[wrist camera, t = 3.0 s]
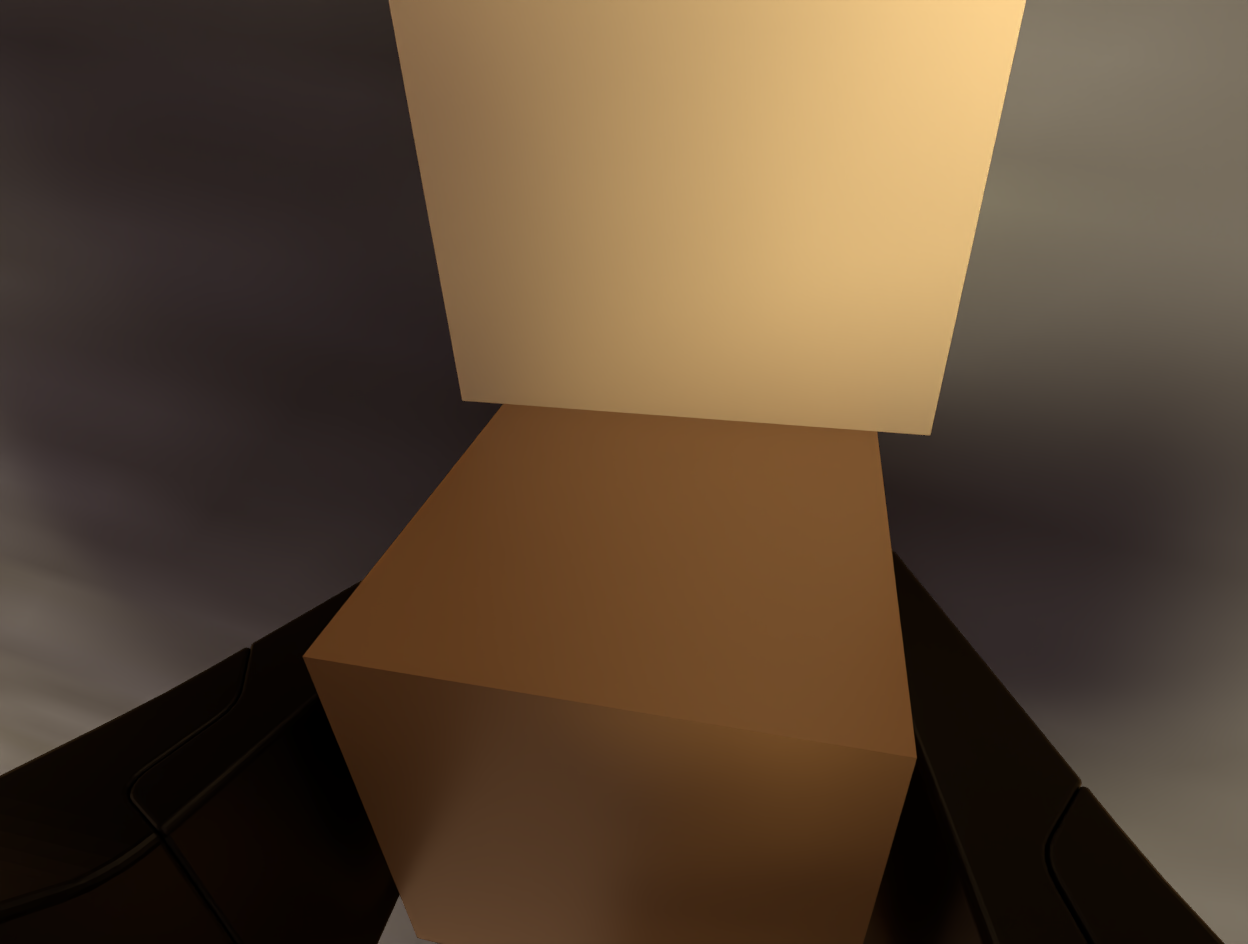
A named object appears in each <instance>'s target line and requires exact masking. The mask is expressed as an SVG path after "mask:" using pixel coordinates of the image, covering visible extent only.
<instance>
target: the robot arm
mask: <svg viewBox="0 0 1248 944" xmlns="http://www.w3.org/2000/svg"><path fill="white" fill-rule="evenodd" d="M892 557H893V566H894V574H895V582H896V590H897V598H898V607H899V615H900V623H901V631H902V640H903V648H904V656H905V664H906V672H907V681H908V689H909V697H910V705H911V714H912V722H913V730H914V738H915V746H916V755H917V760H916V763H915V766H914V770H913V773H912V777H911V780H910V784H909V787H908V791H907V794H906V797H905V801H904V804H903V808H902V811H901V815H900V818H899V822H898V825H897V828H896V832H895V835H894V839H893V842H892V846H891V849H890V853H889V856H888V859H887V863H886V866H885V870H884V873H883V877H882V880H881V884H880V887H879V890H878V894H877V897H876V901H875V904H874V908H873V911H872V915H871V918H870V921H869V925H868V928H867V932H866V935H865V939H864V942H863V944H1224V943H1223V941H1222V940H1221V939H1220V938H1219V937H1218V936H1217V935H1216V934H1215V933H1214V932H1213V931H1212V930H1211V929H1210V927H1209V926H1208V925H1207V924H1206V923H1205V922H1204V921H1203V920H1202V919H1201V918H1200V917H1199V916H1198V915H1197V913H1196V912H1195V911H1194V910H1193V909H1192V908H1191V907H1190V906H1189V905H1188V904H1187V903H1186V902H1185V900H1184V899H1183V898H1182V897H1181V896H1180V895H1179V894H1178V893H1177V892H1176V891H1175V890H1174V889H1173V888H1172V886H1171V885H1170V884H1169V883H1168V882H1167V881H1166V880H1165V879H1164V878H1163V877H1162V875H1161V874H1160V873H1159V872H1158V871H1157V870H1156V868H1155V867H1154V866H1153V865H1152V864H1151V863H1150V861H1149V860H1148V859H1147V858H1146V857H1145V856H1144V854H1143V853H1142V852H1141V851H1140V850H1139V849H1138V847H1137V846H1136V845H1135V844H1134V843H1133V842H1132V840H1131V839H1130V838H1129V837H1128V836H1127V834H1126V833H1125V832H1124V831H1123V830H1122V829H1121V827H1120V826H1119V825H1118V824H1117V823H1116V822H1115V820H1114V819H1113V818H1112V817H1111V815H1110V814H1109V813H1108V812H1107V811H1106V809H1105V808H1104V807H1103V806H1102V804H1101V803H1100V802H1099V801H1098V800H1097V798H1096V797H1095V796H1094V795H1093V793H1092V792H1091V791H1090V790H1089V789H1088V788H1086V787H1080V786H1081V784H1082V782H1081V779H1080V778H1079V777H1078V776H1077V774H1076V773H1075V772H1074V771H1073V769H1072V768H1071V767H1070V766H1069V765H1068V763H1067V762H1066V761H1065V760H1064V758H1063V757H1062V756H1061V755H1060V754H1059V752H1058V751H1057V750H1056V749H1055V747H1054V746H1053V745H1052V744H1051V743H1050V741H1049V740H1048V739H1047V738H1046V736H1045V735H1044V734H1043V733H1042V732H1041V730H1040V729H1039V728H1038V727H1037V725H1036V724H1035V723H1034V722H1033V721H1032V719H1031V718H1030V717H1029V716H1028V714H1027V713H1026V712H1025V711H1024V709H1023V708H1022V707H1021V706H1020V705H1019V703H1018V702H1017V701H1016V700H1015V698H1014V697H1013V696H1012V695H1011V694H1010V692H1009V691H1008V690H1007V689H1006V687H1005V686H1004V685H1003V684H1002V683H1001V681H1000V680H999V679H998V678H997V676H996V675H995V674H994V673H993V672H992V670H991V669H990V668H989V667H988V665H987V664H986V663H985V662H984V661H983V659H982V658H981V657H980V656H979V654H978V653H977V652H976V651H975V649H974V648H973V647H972V646H971V645H970V643H969V642H968V641H967V640H966V638H965V637H964V636H963V635H962V634H961V632H960V631H959V630H958V629H957V627H956V626H955V625H954V624H953V623H952V621H951V620H950V619H949V618H948V616H947V615H946V614H945V613H944V612H943V610H942V609H941V608H940V607H939V605H938V604H937V603H936V602H935V601H934V599H933V598H932V597H931V596H930V594H929V593H928V592H927V591H926V589H925V588H924V587H923V586H922V585H921V583H920V582H919V581H918V580H917V578H916V577H915V576H914V575H913V574H912V572H911V571H910V570H909V569H908V567H907V566H906V565H905V564H904V563H903V561H902V560H901V559H900V558H899V556H898V555H897V554H896V553H895V552H894V551H893V550H892ZM363 580H364V579H363ZM363 580H362V581H363ZM362 581H360V582H358V583H357V584H355V585H353V586H351V587H350V588H348V589H346V590H344V591H343V592H341V593H339V594H338V595H336V596H334V597H332V598H331V599H329V600H327V601H325V602H324V603H322V604H320V605H318V606H317V607H315V608H313V609H312V610H310V611H308V612H306V613H305V614H303V615H301V616H299V617H298V618H296V619H294V620H292V621H291V622H289V623H287V624H286V625H284V626H282V627H280V628H279V629H277V630H275V631H273V632H272V633H270V634H268V635H266V636H265V637H263V638H261V639H259V640H258V641H256V642H254V643H253V644H252V646H251V649H250V648H244V649H242V650H240V651H238V652H237V653H235V654H233V655H232V656H230V657H228V658H226V659H225V660H223V661H221V662H219V663H218V664H216V665H214V666H212V667H211V668H209V669H207V670H205V671H203V672H202V673H200V674H198V675H196V676H194V677H193V678H191V679H189V680H187V681H185V682H184V683H182V684H180V685H178V686H176V687H175V688H173V689H171V690H169V691H167V692H166V693H164V694H162V695H160V696H158V697H156V698H154V699H152V700H150V701H148V702H146V703H144V704H142V705H140V706H138V707H136V708H135V709H133V710H131V711H129V712H127V713H125V714H123V715H121V716H119V717H117V718H115V719H113V720H111V721H109V722H107V723H105V724H103V725H101V726H99V727H97V728H95V729H93V730H91V731H89V732H87V733H85V734H83V735H81V736H79V737H77V738H75V739H73V740H71V741H69V742H67V743H65V744H63V745H61V746H59V747H57V748H55V749H53V750H51V751H49V752H47V753H45V754H43V755H41V756H39V757H37V758H35V759H33V760H31V761H29V762H27V763H25V764H23V765H21V766H19V767H17V768H15V769H13V770H11V771H9V772H7V773H5V774H3V775H1V776H0V944H378V941H379V939H380V937H381V935H382V933H383V930H384V928H385V926H386V924H387V922H388V919H389V917H390V915H391V913H392V910H393V908H394V906H395V904H396V902H397V899H398V897H399V895H400V894H399V891H398V889H397V887H396V884H395V882H394V879H393V877H392V874H391V872H390V869H389V867H388V865H387V862H386V860H385V857H384V855H383V852H382V850H381V847H380V845H379V843H378V840H377V838H376V835H375V833H374V830H373V828H372V825H371V823H370V820H369V818H368V816H367V813H366V811H365V808H364V806H363V803H362V801H361V798H360V796H359V794H358V791H357V789H356V786H355V784H354V781H353V779H352V776H351V774H350V772H349V769H348V767H347V764H346V762H345V759H344V757H343V754H342V752H341V750H340V747H339V745H338V742H337V740H336V737H335V735H334V732H333V730H332V728H331V725H330V723H329V720H328V718H327V715H326V713H325V710H324V708H323V705H322V703H321V701H320V698H319V696H318V693H317V691H316V688H315V686H314V683H313V681H312V679H311V676H310V674H309V671H308V669H307V666H306V664H305V661H304V659H303V657H302V656H303V655H304V654H305V653H306V651H307V650H308V649H309V648H310V646H311V645H312V644H313V643H314V641H315V640H316V639H317V638H318V636H319V635H320V634H321V633H322V631H323V630H324V629H325V627H326V626H327V625H328V624H329V622H330V621H331V620H332V619H333V617H334V616H335V615H336V614H337V612H338V611H339V610H340V609H341V607H342V606H343V605H344V604H345V602H346V601H347V600H348V599H349V597H350V596H351V595H352V594H353V592H354V591H355V590H356V589H357V587H358V586H359V585H360V583H361V582H362Z"/></svg>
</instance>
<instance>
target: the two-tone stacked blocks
mask: <svg viewBox="0 0 1248 944" xmlns="http://www.w3.org/2000/svg"><path fill="white" fill-rule="evenodd" d="M1025 3H1026V0H389V5H390V11H391V16H392V22H393V27H394V33H395V38H396V43H397V49H398V54H399V60H400V65H401V71H402V76H403V82H404V87H405V92H406V98H407V103H408V109H409V114H410V120H411V125H412V130H413V136H414V141H415V147H416V152H417V158H418V163H419V168H420V174H421V179H422V185H423V190H424V196H425V201H426V206H427V212H428V217H429V223H430V228H431V234H432V239H433V244H434V250H435V255H436V261H437V266H438V272H439V277H440V282H441V288H442V293H443V299H444V304H445V310H446V315H447V320H448V326H449V331H450V337H451V342H452V348H453V353H454V358H455V364H456V369H457V375H458V380H459V386H460V391H461V397H462V401H473V402H487V403H500V404H503V405H502V406H501V407H500V409H499V410H498V411H497V412H496V414H495V415H494V416H493V418H492V419H491V420H490V421H489V423H488V424H487V425H486V426H485V428H484V429H483V430H482V431H481V433H480V434H479V435H478V436H477V438H476V439H475V440H474V441H473V443H472V444H471V445H470V446H469V448H468V449H467V450H466V451H465V453H464V454H463V455H462V456H461V458H460V459H459V460H458V462H457V463H456V464H455V465H454V467H453V468H452V469H451V470H450V472H449V473H448V474H447V475H446V477H445V478H444V479H443V480H442V482H441V483H440V484H439V485H438V487H437V488H436V489H435V490H434V492H433V493H432V494H431V495H430V497H429V498H428V499H427V500H426V502H425V503H424V504H423V506H422V507H421V508H420V509H419V511H418V512H417V513H416V514H415V516H414V517H413V518H412V519H411V521H410V522H409V523H408V524H407V526H406V527H405V528H404V529H403V531H402V532H401V533H400V534H399V536H398V537H397V538H396V539H395V541H394V542H393V543H392V544H391V546H390V547H389V548H388V550H387V551H386V552H385V553H384V555H383V556H382V557H381V558H380V560H379V561H378V562H377V563H376V565H375V566H374V567H373V568H372V570H371V571H370V572H369V573H368V575H367V576H366V577H365V578H364V580H363V581H362V582H361V583H360V585H359V586H358V587H357V589H356V590H355V591H354V592H353V594H352V595H351V596H350V597H349V599H348V600H347V601H346V602H345V604H344V605H343V606H342V607H341V609H340V610H339V611H338V612H337V614H336V615H335V616H334V617H333V619H332V620H331V621H330V622H329V624H328V625H327V626H326V627H325V629H324V630H323V631H322V633H321V634H320V635H319V636H318V638H317V639H316V640H315V641H314V643H313V644H312V645H311V646H310V648H309V649H308V650H307V651H306V653H305V654H304V655H303V656H302V657H303V659H304V661H305V664H306V666H307V669H308V671H309V674H310V676H311V679H312V681H313V683H314V686H315V688H316V691H317V693H318V696H319V698H320V701H321V703H322V705H323V708H324V710H325V713H326V715H327V718H328V720H329V723H330V725H331V728H332V730H333V732H334V735H335V737H336V740H337V742H338V745H339V747H340V750H341V752H342V754H343V757H344V759H345V762H346V764H347V767H348V769H349V772H350V774H351V776H352V779H353V781H354V784H355V786H356V789H357V791H358V794H359V796H360V798H361V801H362V803H363V806H364V808H365V811H366V813H367V816H368V818H369V820H370V823H371V825H372V828H373V830H374V833H375V835H376V838H377V840H378V843H379V845H380V847H381V850H382V852H383V855H384V857H385V860H386V862H387V865H388V867H389V869H390V872H391V874H392V877H393V879H394V882H395V884H396V887H397V889H398V891H399V894H400V896H401V899H402V901H403V904H404V906H405V909H406V911H407V913H408V916H409V918H410V921H411V923H412V926H413V928H414V931H415V933H416V935H417V938H420V939H424V940H428V941H432V942H436V943H440V944H863V942H864V939H865V935H866V932H867V928H868V925H869V921H870V918H871V915H872V911H873V908H874V904H875V901H876V897H877V894H878V890H879V887H880V884H881V880H882V877H883V873H884V870H885V866H886V863H887V859H888V856H889V853H890V849H891V846H892V842H893V839H894V835H895V832H896V828H897V825H898V822H899V818H900V815H901V811H902V808H903V804H904V801H905V797H906V794H907V791H908V787H909V784H910V780H911V777H912V773H913V770H914V766H915V763H916V760H917V755H916V746H915V738H914V730H913V722H912V714H911V705H910V697H909V689H908V681H907V672H906V664H905V656H904V648H903V640H902V631H901V623H900V615H899V607H898V598H897V590H896V582H895V574H894V566H893V557H892V549H891V541H890V533H889V524H888V516H887V508H886V500H885V492H884V483H883V475H882V467H881V459H880V450H879V442H878V434H877V431H878V432H891V433H905V434H918V435H930V434H931V430H932V425H933V421H934V416H935V412H936V407H937V403H938V398H939V393H940V389H941V384H942V380H943V375H944V371H945V366H946V362H947V357H948V353H949V348H950V343H951V339H952V334H953V330H954V325H955V321H956V316H957V312H958V307H959V303H960V298H961V293H962V289H963V284H964V280H965V275H966V271H967V266H968V262H969V257H970V253H971V248H972V243H973V239H974V234H975V230H976V225H977V221H978V216H979V212H980V207H981V203H982V198H983V193H984V189H985V184H986V180H987V175H988V171H989V166H990V162H991V157H992V153H993V148H994V143H995V139H996V134H997V130H998V125H999V121H1000V116H1001V112H1002V107H1003V103H1004V98H1005V93H1006V89H1007V84H1008V80H1009V75H1010V71H1011V66H1012V62H1013V57H1014V53H1015V48H1016V44H1017V39H1018V34H1019V30H1020V25H1021V21H1022V16H1023V12H1024V7H1025Z"/></svg>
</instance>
